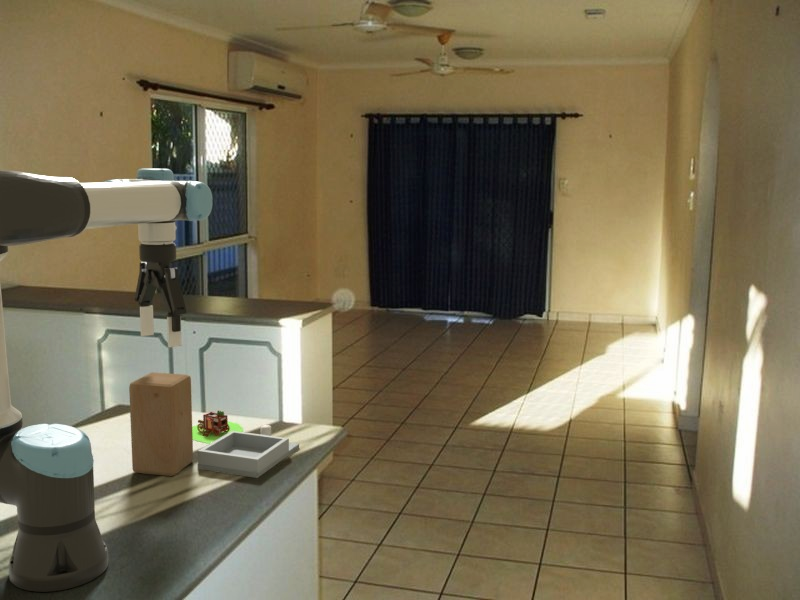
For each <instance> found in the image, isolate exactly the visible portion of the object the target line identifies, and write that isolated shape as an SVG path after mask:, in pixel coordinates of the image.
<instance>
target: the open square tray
mask: <svg viewBox="0 0 800 600" xmlns="http://www.w3.org/2000/svg"><path fill="white" fill-rule="evenodd" d="M289 439H290V438H289V437H280V436H274V435H272V426H271V425H269V424H264V425H260V434H259V433H253V432H244V431H243V432H239V431H231V432H229V433H227V434H226V435H224V436H222V437H221V438H219V439H217V440H215V441H214V442H212V443H210V444H207V445H206V446H204V447H202V448H200V449H198V450H197V462H198V463H197V469H198V470H202V471H209V472H217V473H223V474H229V475H233V476H234V475H236V476H242V477H247V478H248V477H249V478H254V479H255V478H256V479H258V478H259V477H261V476H262V475H263V474H265V473H266V472H268V471H269V470H270V469H272V468H274V467H275V466H277V464H279V463H280V462H282V461H283V460H285V458H287V457H289V456H290V455H291V454H293V453H294V452H295V451H297V450H298V449H300V443H296V442H290V440H289Z"/></svg>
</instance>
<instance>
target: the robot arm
mask: <svg viewBox="0 0 800 600" xmlns="http://www.w3.org/2000/svg"><path fill="white" fill-rule="evenodd" d="M174 176H175V175H174V172H173V171H172V170H171V169H169V168H139V169H138V170H137V171H136V177H135V178H123V179H121V178H118V179H117V178H114V179H108V180H105V181H102V182H80V181H79V180H77V179H75V178H73V177H68V176H50V175H42V174H35V173H32V172H31V173H30V172H23V171H18V170H11V169H10V170H9V169H0V262H2V260H3V259H4V258H6V256H7V255H8V254H9V247H17V246H23V245H30V244H31V245H32V244H36V243H41V242H47V241H51V240H58V239H59V240H60V239H66V238H73V237H77V236H79V235H80V234H81V233H83V232H84V231H85V230H90V229H91V230H92V229H99V228H100V229H102V228H108V227H109V228H110V227H120V226H129V225H137V227H138V228H137V230H138V231H137V232H138V234H137V235H138V241H139V242H141V243H139V246H138V247H139V249H138V252H139V260H140V261H139V272H138V276H137V284H136V289H135V294H134V302H135V303H137V304H138V306H139V319H140V320H139V322H140V323H139V324H140V337H146V336H147V337H148V336H155V333H154V332H155V328H154V327H155V326H154V306H153V305H154V301H153V300H154V296H155V294H156V292H157V290H158V291H160V293H161V295H162V300H163V301H164V304H165V307H166V309H167V314H166V323H167V325H166V328H167V348H169V349H170V348H175V347H176V348H177V347H183V346H182V345H183V344H182V316H183V315H186V314H187V307H186V303H185V300H184V299H185V298H184V295H183V291H182V286H181V283H180V278H179V275H180V274H179V269H178V267H171V264H170V263H171V262H174V261H176V259H177V245H176V243H175V241H176V231H177V229H178V227H177V225H176V221H189V222H194V221H203V220H206V219H207V218H208V217H209V216H210V214H211V212H212V209H213V193H212V191H211V188H210V187H209V186H208V184H206V183H204V182H202V181H194V180H175V178H174ZM1 285H2V284H1V283H0V503H1V504H6V505H11V506H15V507H16V514H17V528H18V531H17V534H16V538H15V541H14V544H13V545H14V546H13V549H12V553H11V557H10V560H9V563H8V574H9V575H8V576H9V581H10V583H11V584H12V585H13V586H15V587H16V588H19V589H21V590H24V591H28V592H38V593H39V592H40V593H41V592H42V593H44V592H45V593H46V592H48V593H49V592H57V591H58V592H59V591H64V590H68V589H72V588H75V587H79V586H82V585H84V584H88V583H90V582H92V581H93V580H95V579H98V577H99V576H101V575H102V574H103V573H104V572H105V571H106V570H107V568H108V566H109V550H108V546H107V544H106V542H105V541H104V540H103V537H102V533H101V531H100V528H99V526H98V523H97V521H96V514H95V513H96V511H95V508H96V506H95V483H94V482H95V480H94V479H95V478H94V477H95V475H94V461H95V460H94V455H93V452H92V450H93V449H92V444H91V441H90V438H89V436H88V435H87V434H86V433H85V432H84V431H83V430H81V429H80V428H77V427H74V426H71V425H68V424H60V423H52V424H48V423H39V424H33V425H29V426H26V427H24V424H23V422H24V421H23V415H22V412H21V411H20V410H19V409H17V408H16V407H14V406H13V405H12V399H11V398H12V397H11V389H10V387H11V386H10V378H9V377H10V376H9V366H8V354H7V345H6V344H7V343H6V341H7V340H6V332H5V319H4V309H3V299H2V298H3V297H2V287H1Z"/></svg>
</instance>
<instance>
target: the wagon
mask: <svg viewBox="0 0 800 600" xmlns="http://www.w3.org/2000/svg"><path fill="white" fill-rule="evenodd" d="M202 418H203V420H202V419H198V420H197V423H198V424H196V425H194V426H193V425H192V436H193V441H196V442H200V443H203V442H204V443H203V444H207V445H209V444H210V443H211V442H214V441H215V440H217V439H219V438H221V437H222V436H224V435H226V434H227V433H229V432H231V431H239V432H244V428H243V427H242V426H241V425H240V424H239V423H237V422H233V421H229V420H228V414H225V411H222V410H217V413H216V412H213V411H209V412H208V413H205V414H202Z"/></svg>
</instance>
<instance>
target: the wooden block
mask: <svg viewBox="0 0 800 600" xmlns="http://www.w3.org/2000/svg"><path fill="white" fill-rule="evenodd" d="M128 387H129V388H128V389H129V391H128V392H129V410H130V411H129V413H130V415H129V416H130V418H129V419H130V435H131V436H130V437H131V438H130V439H131V461H132V462H131V463H132V467H131V468H132V470H133V473H137V474H147V475H157V476H168V477H169V476H170V477H174V476H175V475H177V474H179V473H180V472H182V470H184V469H185V468H186V467H187V466H188V465H190V464H191V463H192V462H193V460H194V447H193V446H194V444H193V443H194V442H193V441H194V440H193V436H192V427H193V405H192V377H191V376H190V375H189V374H182V373H166V372H154V371H152V372H149V373H147V374H145V375H143V376H142V377H139V378H138V379H136V380H134V381H132V382H130V383H129V386H128Z"/></svg>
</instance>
